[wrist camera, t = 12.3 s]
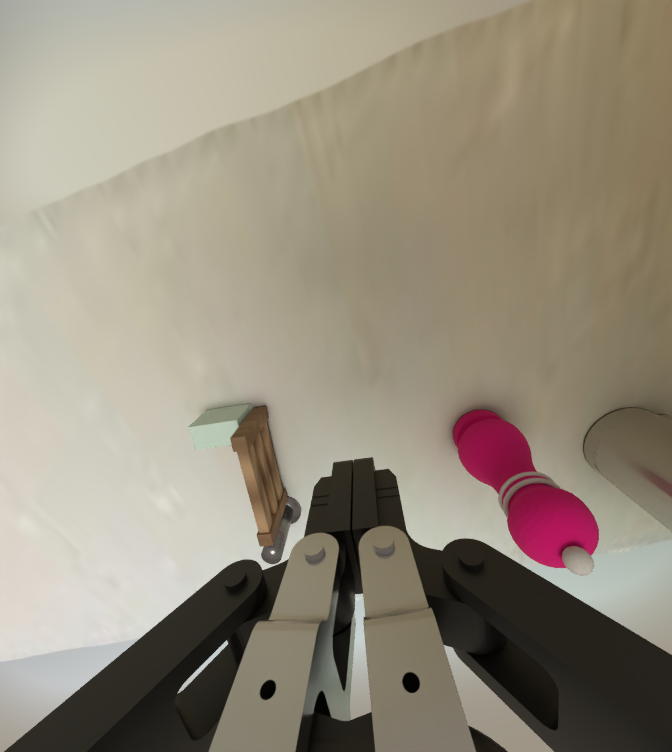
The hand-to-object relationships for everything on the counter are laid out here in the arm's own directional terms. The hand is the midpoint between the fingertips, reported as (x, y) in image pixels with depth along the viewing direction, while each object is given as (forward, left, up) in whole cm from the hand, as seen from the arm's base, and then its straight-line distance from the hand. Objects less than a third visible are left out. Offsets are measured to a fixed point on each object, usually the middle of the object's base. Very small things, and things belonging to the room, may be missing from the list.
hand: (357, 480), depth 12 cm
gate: (+14, +13, -27) cm, 33 cm away
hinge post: (+14, +22, -27) cm, 38 cm away
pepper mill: (-13, +14, -27) cm, 33 cm away
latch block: (+18, +7, -27) cm, 33 cm away
